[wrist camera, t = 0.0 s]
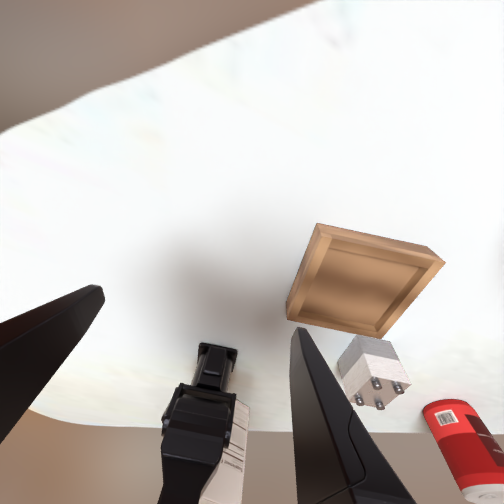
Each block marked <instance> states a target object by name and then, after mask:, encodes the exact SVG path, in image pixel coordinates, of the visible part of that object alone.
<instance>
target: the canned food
mask: <svg viewBox="0 0 504 504" xmlns="http://www.w3.org/2000/svg"><path fill="white" fill-rule="evenodd" d="M423 413H424V417H425V419H426V421H427V423H428V425H429V428H430V430H431V432H432V434H433V436H434V438H435V440H436V442H437V444H438V446H439V448H440V450H441V452H442V454H443V456H444V458H445V460H446V462H447V464H448V466H449V469H450V470H451V473H452V475H453V477H454V479H455V481H456V483H457V485H458V486H459V489H460V491H461V493H462V494H463V496H464V498H465V499H466V500H468V501H470V502H473V503H476V504H504V452H503V451H502V449H501V448H500V447H499V445H498V444H497V442H496V441H495V439H494V438H493V436H492V435H491V433H490V432H489V430H488V429H487V427H486V426H485V425H484V423H483V422H482V420H481V419H480V417H479V416H478V414H477V413H476V411H475V410H474V409H473V408H472V407H471V406H470V405H469V404H468V403H467V402H464V401H462V400H456V399H446V400H439V401H435V402H432V403H430V404H428V405H427V406H426V407H425V408H424V410H423Z"/></svg>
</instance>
